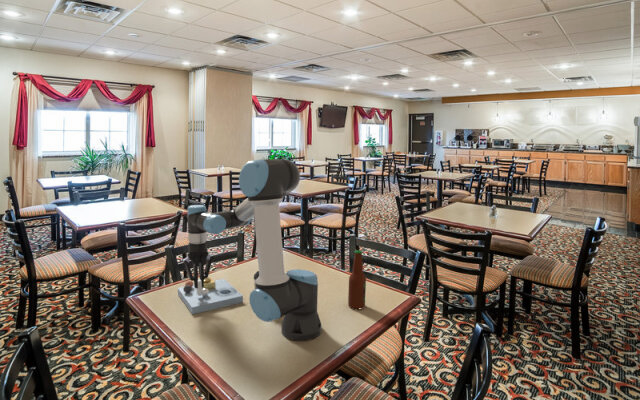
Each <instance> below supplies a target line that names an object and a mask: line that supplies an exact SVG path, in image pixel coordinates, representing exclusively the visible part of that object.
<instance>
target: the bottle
mask: <svg viewBox="0 0 640 400" xmlns="http://www.w3.org/2000/svg"><path fill="white" fill-rule="evenodd" d="M362 257H363V251H362V250H360V249H356V250H354V259H353V264H352V273H350V275H349V277H348V295H347V297H348V299H347V305H348V308H350V307H351V308H350V309H352V308H355V309H359V308H363V307H364V306H366V289H367V288H366V287H367V286H366V284H367V278H366V276H365V274H364V265H363V258H362ZM364 308H365V307H364ZM364 308H363V309H364ZM355 309H354V310H355Z"/></svg>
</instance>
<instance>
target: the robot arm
mask: <svg viewBox="0 0 640 400" xmlns="http://www.w3.org/2000/svg"><path fill="white" fill-rule="evenodd" d="M300 180H301V173H300V170H299V167H298V166H297V165H296V164H295V163H294V162H293V161H291V160H289V159H285V158H279V159H275V158H274V159H272V158H271V159H255V160H254V159H253V160H249V161H248V162H246V163H245V164H244V165H243V166H242V168H241V170H240V172H239V176H238V185H239V189H240V191H241V193H242V194H243V195H244V196H246V197H247V198H245V200H243V201H242V202H240V204H238V205H237V206H236V207H235V208H233V209H231V210H226V211H225V210H224V211H217V212H212V213H211V212H207V211H208V210H207V206H206V205H204V204H191V205H189V206H187V215H186V216H187V217H186V218H187V233H188V235H187V236H188V237H187V239H188V240H187V241H188V243H187V244H188V254H187V256H186V257H185V258H182V262H183V264H184V266H185V269H186V272H187V276H188V278H189V281H192V282H193V285H194V287H195V288H196V289H197V295H198V296H201V295H202V287H204V280H205V278H209V274H210V269H211V266H212V261H213V259H214V255H212V254H210V253H209V252H208V242H207V240H208V233H209V234H212V235H214V234H215V235H217V234H218V235H220V234H221V233H222V232H224V231H225V230H230V229H235V228H236V229H237V228H242V227H245V226H248V225H250V224H251V221H252V220H254V228H255V229H254V230H255V240H256V242H255V243H256V252H257V253H256V254H257V263H258V265H257V266H258V271H259V277H258V278H257V279H256V280H255V283H256V289H255V288H254V289H253V290H252V291H251V292H250V293H249V297H248V300H249V305H250V308H251V310H252V312H253V313H254V314H255V316H256V317H257V318H258V319H259V320H260V321H262V322H266V323H269V322H272V321H276V320H279V319H280V318H282V317H283V319H282V322H281V333H282V336H283V337H285V338H287V339H289V340H293V341H298V342H300V341H301V342H303V341H311V340H314V339H315V338H316V339H317V337H319V336H320V335H321V334H322V328H323V327H322V322H321V319H320V316H319V312H318V290H319V289H318V288H319V287H318V286H319V281H318V275H317V274H316V273H315V272H313V271H311V270H306V269H299V268H297V269H294V268H293V269H289V270H287V271H286V273H285V263H284V251H283V240H282V239H283V238H282V227H281V226H282V225H281V215H280V203H281V202H282V200H284V197H286V196H287V195H289V194H291V193H292V192H293V191H294V190H296V188H297V187H298V186H299V183H300ZM190 261H191V263H192V268H193V269H191V265H190V264H189V263H190ZM205 261H206V263H205Z"/></svg>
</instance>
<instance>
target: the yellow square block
mask: <svg viewBox="0 0 640 400" xmlns="http://www.w3.org/2000/svg"><path fill="white" fill-rule="evenodd" d="M204 288H206V289H208V290H210V289H214V288H216V285H215V280H214V279H213V278H212V277H208V278H205V280H204V287H202V289H204Z"/></svg>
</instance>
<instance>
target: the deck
mask: <svg viewBox="0 0 640 400" xmlns="http://www.w3.org/2000/svg"><path fill="white" fill-rule="evenodd" d="M214 281H215V285H216V288H214V289H210V290H209V294H208V296H206V297H203V296H202V295H201V296H198V295H197V289H196V288H195V287H194V284H193V286H192V290H191V292H189V293H185V292H184V290H183V289H184V287H185V285H184V286H180V287H177V295H178V296H179V298H180V299H181V300H182V302H183V304H184V305H185V306H186V307H187V309H188V310H189V312H190V313H191V315H196V314H200V313H203V312H208V311H211V310H212V311H213V310H217V309H220V308H225V307H229V306H232V305H237V304H241V303H244V296H243V294H241V292H239V291H238V290H237V289H236V288H235V287H234V286H233V285H232V284H230V283H229V282H228V281H227V280H226V279H225V278H222V279H216V280H214Z"/></svg>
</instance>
